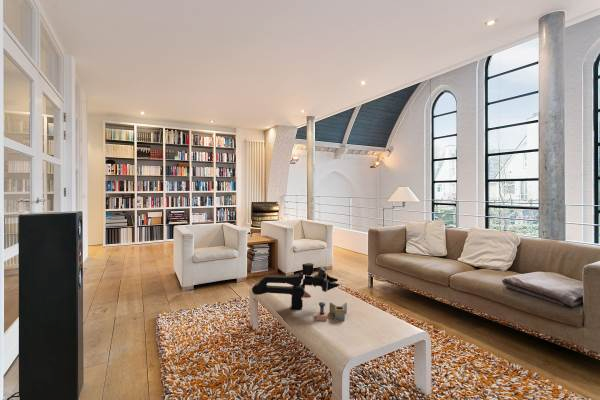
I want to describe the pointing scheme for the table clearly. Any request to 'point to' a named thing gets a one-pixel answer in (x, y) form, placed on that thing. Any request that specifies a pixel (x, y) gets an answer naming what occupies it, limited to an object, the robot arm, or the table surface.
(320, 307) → the hinge pin
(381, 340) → the table surface
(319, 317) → the pin holder
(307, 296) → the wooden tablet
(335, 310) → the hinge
